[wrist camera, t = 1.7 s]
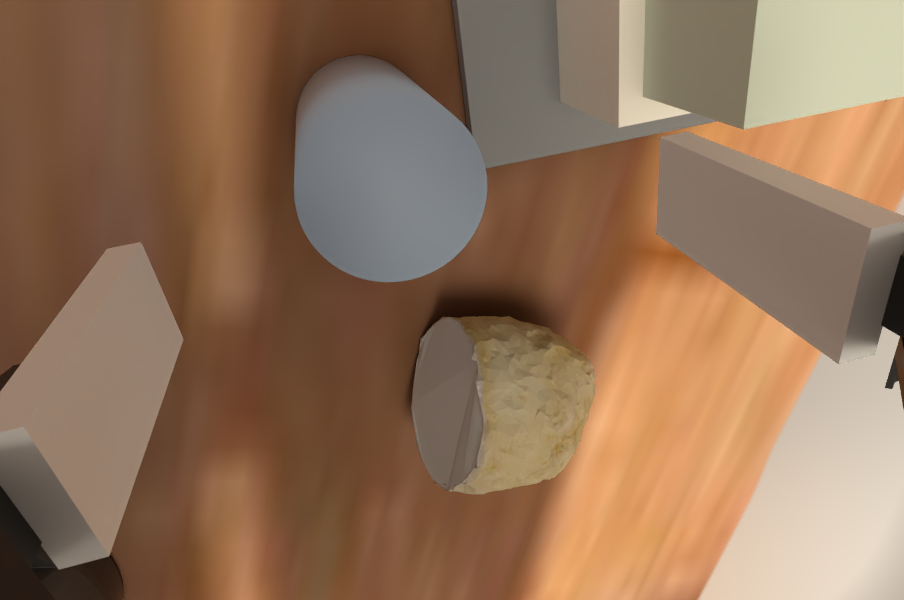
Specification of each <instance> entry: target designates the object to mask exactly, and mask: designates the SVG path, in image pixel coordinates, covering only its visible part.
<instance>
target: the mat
mask: <svg viewBox="0 0 904 600" xmlns="http://www.w3.org/2000/svg"><path fill="white" fill-rule="evenodd" d="M452 8H453V16H454V24H455V33H456V41H457V49H458V58H459V66H460V74H461V82H462V91H463V99H464V107H465V116H466V124H467V129H468V130H469V132H470V133H471V135H472V136H473V138H474V139H475V141H476V143H477V145H478V147H479V149H480V151H481V154H482V157H483V160H484V163H485V168H491V167H496V166H501V165H506V164H510V163H515V162H520V161H525V160H530V159H535V158H540V157H545V156H550V155H555V154H559V153H564V152H569V151H574V150H579V149H584V148H589V147H594V146H599V145H603V144H608V143H613V142H618V141H623V140H628V139H633V138H638V137H643V136H648V135H652V134H657V133H662V132H667V131H672V130H677V129H682V128H687V127H692V126H696V125H701V124H706V123H711V122H716V120H713V119H710V118H707V117H703V116H700V115H697V114H694V113H689V114H684V115H679V116H674V117H669V118H664V119H659V120H654V121H649V122H644V123H639V124H634V125H629V126H624V127H620V128H618V127H616V126H614V125H612V124H609V123H607V122H605V121H602V120H600V119H598V118H596V117H593V116H591V115H589V114H587V113H584V112H582V111H580V110H578V109H575V108H573V107H571V106H569V105H566V104H564V103H562V102H560V80H559V55H558V31H557V6H556V0H452Z"/></svg>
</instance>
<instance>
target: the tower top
mask: <svg viewBox="0 0 904 600" xmlns="http://www.w3.org/2000/svg"><path fill="white" fill-rule="evenodd" d="M902 96H904V0H645V34H644V71H643V97H645V98H648V99H651V100H654V101H657V102H660V103H663V104H666V105H669V106H672V107H676V108H679V109H682V110H685V111H688V112H691V113H694V114H697V115H700V116H703V117H707V118H710V119H713V120H716V121H719V122H722V123H725V124H728V125H731V126H734V127H738V128H741V129H748V128H753V127H758V126H763V125H767V124H772V123H777V122H782V121H787V120H791V119H796V118H801V117H806V116H811V115H816V114H820V113H825V112H830V111H835V110H840V109H844V108H849V107H854V106H859V105H864V104H868V103H873V102H878V101H883V100H888V99H893V98H897V97H902Z"/></svg>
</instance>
